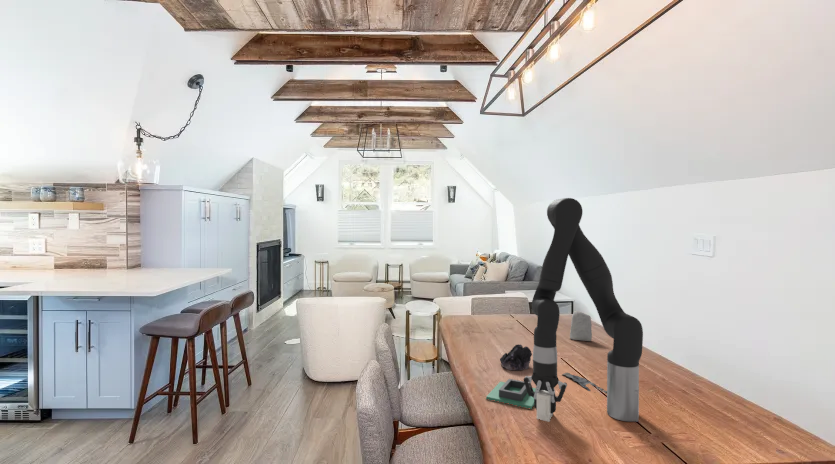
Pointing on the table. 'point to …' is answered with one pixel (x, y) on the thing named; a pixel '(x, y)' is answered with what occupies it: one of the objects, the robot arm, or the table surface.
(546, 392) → the plug
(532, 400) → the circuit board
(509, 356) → the crystal cluster
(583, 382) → the driftwood
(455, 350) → the table surface
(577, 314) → the decorative stone
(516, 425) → the table surface
